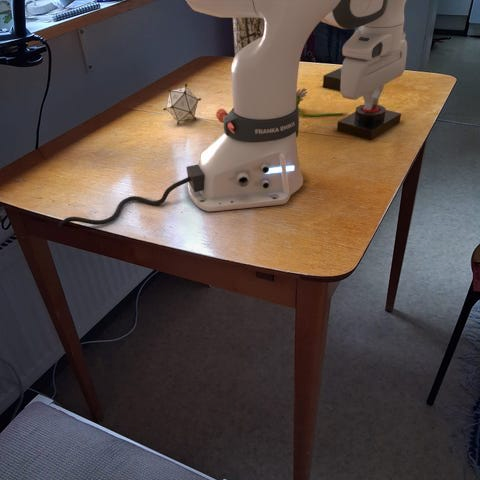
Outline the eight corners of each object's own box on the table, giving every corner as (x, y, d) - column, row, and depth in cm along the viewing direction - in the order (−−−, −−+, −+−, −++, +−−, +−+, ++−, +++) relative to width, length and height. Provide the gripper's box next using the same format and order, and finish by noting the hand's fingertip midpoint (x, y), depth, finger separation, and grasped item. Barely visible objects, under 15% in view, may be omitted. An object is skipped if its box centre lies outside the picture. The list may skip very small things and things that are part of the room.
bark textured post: (265, 131, 112) (262, 5, 95) (236, 130, 113) (228, 6, 96) (269, 120, 117) (267, -2, 100) (242, 119, 118) (235, -1, 101)
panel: (356, 95, 126) (358, 82, 123) (322, 87, 131) (323, 74, 129) (385, 80, 132) (387, 67, 130) (352, 73, 138) (353, 61, 136)
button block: (370, 140, 105) (373, 122, 102) (336, 130, 110) (338, 113, 107) (399, 123, 111) (402, 105, 108) (366, 114, 116) (368, 97, 113)
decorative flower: (344, 81, 113) (280, 84, 114) (345, 107, 113) (281, 110, 113) (339, 97, 121) (279, 101, 122) (340, 122, 120) (280, 125, 121)
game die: (179, 137, 122) (149, 106, 116) (194, 113, 125) (165, 82, 119) (199, 126, 115) (168, 93, 110) (214, 101, 118) (185, 68, 112)
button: (372, 120, 107) (373, 112, 106) (358, 117, 109) (359, 109, 108) (381, 115, 109) (382, 107, 108) (367, 112, 111) (368, 104, 110)
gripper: (392, 25, 105) (383, 91, 115) (337, 48, 95) (332, 119, 105) (419, 28, 102) (407, 96, 111) (364, 53, 92) (357, 125, 101)
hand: (370, 107), depth 108 cm, fingers closed, pressing on button
